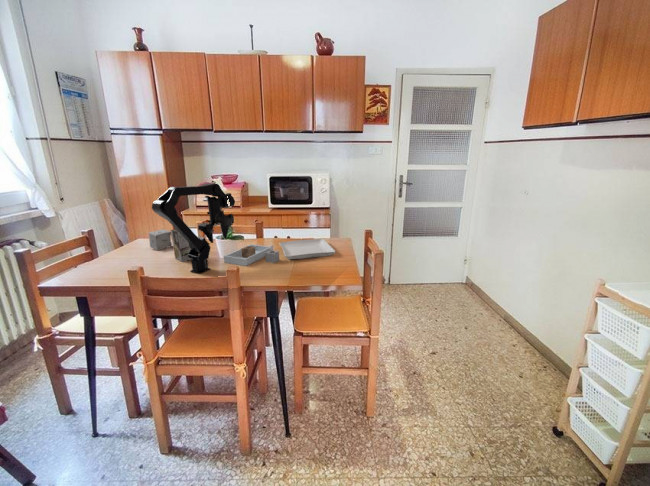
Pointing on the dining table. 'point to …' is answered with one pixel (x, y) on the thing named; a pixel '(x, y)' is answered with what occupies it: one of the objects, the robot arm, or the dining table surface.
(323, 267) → the dining table surface
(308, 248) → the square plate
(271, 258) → the gauged block
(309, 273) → the dining table surface
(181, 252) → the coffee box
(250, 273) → the dining table surface
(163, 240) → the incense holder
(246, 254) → the walnut block
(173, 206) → the robot arm
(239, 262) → the tray
